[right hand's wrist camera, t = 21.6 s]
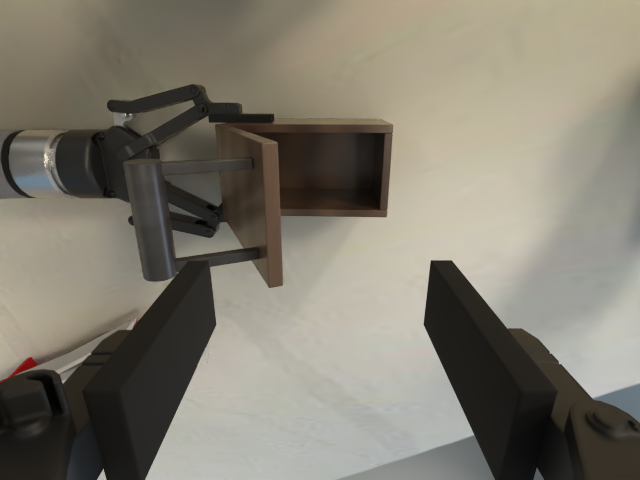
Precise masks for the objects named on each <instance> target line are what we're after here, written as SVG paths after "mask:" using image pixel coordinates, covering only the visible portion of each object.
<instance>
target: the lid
mask: <svg viewBox="0 0 640 480" xmlns="http://www.w3.org/2000/svg"><path fill="white" fill-rule="evenodd" d="M215 129H216V139H217V150H218V159H205V160H187V161H169V162H162V161H161V160H160V159H134V160H128V161H125V162H123V166H124V172H125V177H126V183H127V188H128V194H129V199H130V205H131V210H132V216H133V221H134V227H135V232H136V238H137V243H138V249H139V255H140V260H141V266H142V271H143V277H144V279H145V280H147V281H153V282H157V281H164V280H168V279H170V278H173V277H174V276H176V275H177V273H178V272H179V271H180V270H181V269H182V268H183V266H184V265H185V264H186V263H187V262H188V261H209V265H210V267H212V266H218V265H224V264H231V263H237V262H243V261H250V260H252V262H253V263H254V265H255V267H256V268H257V270H258V271H259V273H260V274H261V276H262V277H263V279H264V281H265V282H266V284H267V285H268V287H269V288H272V287H277V286H282V285H283V269H282V242H281V215H280V187H279V160H278V142H276V141H273V140H270V139H267V138H264V137H261V136H258V135H255V134H252V133H249V132H246V131H243V130H240V129H237V128H234V127H231V126H228V125H226V124H216V125H215ZM206 172H220V183H221V194H222V205H223V215H224V218H225V220H226V221H227V223H228V224H229V226H230V227H231V229H232V231H233V232H234V234H235V235H236V237H237V238H238V240H239V241H240V243H241V245H242V246H243V248H244V249H237V250H230V251H223V252H217V253H210V254H203V255H196V256H189V257H182V258H176V255H175V248H174V241H173V234H172V227H171V220H170V213H169V206H168V199H167V192H166V185H165V178H164V175H177V174H191V173H206Z"/></svg>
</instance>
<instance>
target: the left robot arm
mask: <svg viewBox="0 0 640 480" xmlns="http://www.w3.org/2000/svg"><path fill="white" fill-rule="evenodd" d="M189 100H193V101H194V103H195V106H194V107H192V108H190V109H189V110H187V111H185V112H184V113H182V114H180V115H179V116H177V117H175V118H174V119H172V120H170V121H168V122H167V123H165V124H163V125H162V126H160V127H158V128H157V129H155V130H153V131H152V132H150V133H147V134H145V135H143V136H141V135H140V134H138V133H137V132H135V131H134V130H132V129H131V128H129V127H128V126H127V123H128V122H129V121H131V120H134V119H135V118H136V113H144V112H149V111H152V110H156V109H160V108H163V107H167V106H171V105H174V104H178V103H182V102H185V101H189ZM107 107H108V109H109V110H110V111H111V112H113V122H114V126H112V127H111V128H109V129H107V130H70V131H66V130H20V131H6V130H0V199H4V198H76V197H78V198H118V199H121V200H123V201H125V202H128V205H129V208H130V212H131V215H132V210H131V205H130V199H129V194H128V188H127V183H126V177H125V172H124V166H123V162H125V161H128V160H134V159H159V158H160V155H159V149H156V146H158V145H159V144H161V143H163V142H164V141H165V140H167V139H169V138H170V137H172V136H174V135H176V134H177V133H179V132H181V131H182V130H184V129H186V128H188V127H189V126H191V125H193V124H194V123H196V122H198V121H200V120H201V119H203V118H205V117H206V116H209V122H273V121H274V114H242V105H241V104H238V103H213V102H211V101H210V100H209V99H208V97H207V94H206V89H205V88H204V87H203V86H201V85H195V84H191V85H188V86H184V87H180V88H177V89H173V90H170V91H166V92H162V93H159V94H155V95H151V96H148V97H144V98H140V99H137V100H133V101H130V100H109V101H108V103H107ZM165 185H166V192H167V199H168V202H169V203H171V204H173V205H175V206H177V207H179V208H181V209H184V210H186V211H188V212H190V213H192V214H194V215H196V216H198V217H200V218H203V219H200V218H196V217H192V216H187V215H183V214H179V213H174V212H170V211H169V213H170V220H171V227H172V230H177V231H181V232H185V233H190V234H194V235H199V236H203V237H208V238H211V237H213V236H214V234H215V233H216V232H217V231H218V229H219V224H220V222H227V221H226V220H225V218H224V215H223V205H222V203H221V204H220V205H219V207H217V206H215V205H213V204H211V203H209V202H207V201H205V200H203V199H201V198H198V197H196V196H194V195H192V194H190V193H188V192H186V191H184V190H182V189H180V188H178V187H176V186H174V185H172V184H171V183H170V182H169V181H167V180H165ZM128 221H129V223H130V224H131V225H133V226H134V221H133V216H130V217H129V219H128Z"/></svg>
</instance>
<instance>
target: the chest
mask: <svg viewBox="0 0 640 480" xmlns="http://www.w3.org/2000/svg"><path fill="white" fill-rule="evenodd" d="M224 124H226V125H228V126H231V127H234V128H237V129H240V130H243V131H246V132H249V133H252V134H255V135H258V136H261V137H264V138H267V139H270V140H273V141H276V142H278V160H279V187H280V215H281V216H339V217H387V207H388V192H389V177H390V162H391V147H392V133H393V125H392V124H390V123H388V122H386V121H384V120H382V119H274V121H273V122H229V123H224Z"/></svg>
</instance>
